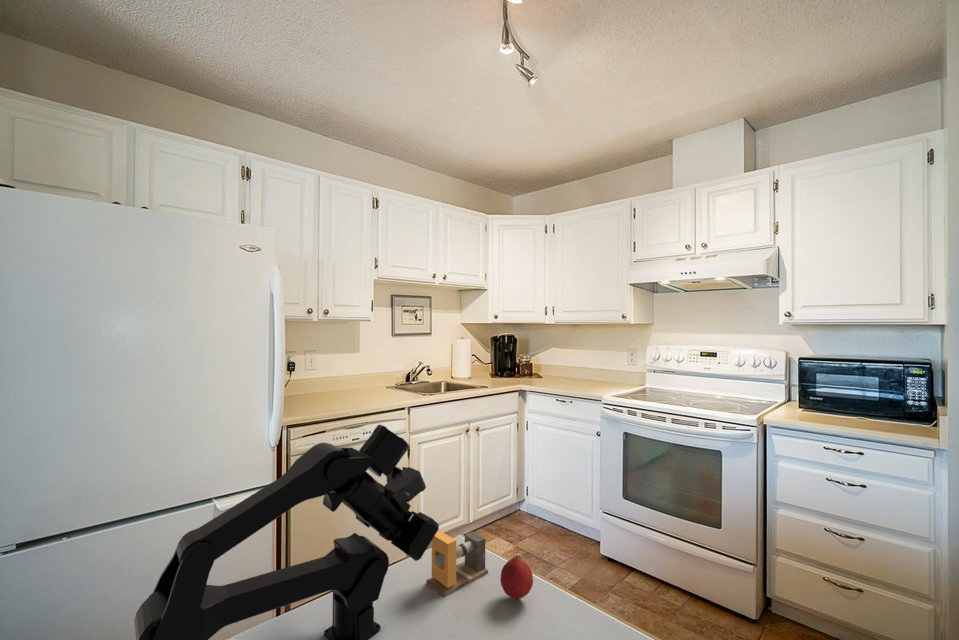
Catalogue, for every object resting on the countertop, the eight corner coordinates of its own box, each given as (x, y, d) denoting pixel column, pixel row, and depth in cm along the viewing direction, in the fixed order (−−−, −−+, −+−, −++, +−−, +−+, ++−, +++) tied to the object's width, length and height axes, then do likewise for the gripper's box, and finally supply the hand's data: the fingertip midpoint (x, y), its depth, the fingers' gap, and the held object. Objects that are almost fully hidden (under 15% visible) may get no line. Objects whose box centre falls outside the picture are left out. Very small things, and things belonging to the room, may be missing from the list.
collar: (447, 588, 78) (447, 544, 78) (431, 576, 82) (431, 534, 82) (456, 583, 79) (456, 540, 79) (439, 572, 83) (439, 531, 83)
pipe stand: (444, 596, 77) (444, 560, 77) (426, 583, 81) (426, 548, 81) (488, 573, 84) (488, 540, 85) (469, 561, 88) (469, 530, 89)
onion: (517, 614, 72) (517, 567, 72) (493, 598, 76) (493, 553, 77) (539, 600, 76) (539, 555, 76) (516, 585, 80) (515, 543, 80)
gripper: (430, 470, 67) (480, 520, 74) (371, 446, 81) (418, 490, 88) (385, 536, 62) (444, 583, 69) (331, 498, 75) (384, 541, 82)
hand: (422, 544), depth 77 cm, fingers closed
